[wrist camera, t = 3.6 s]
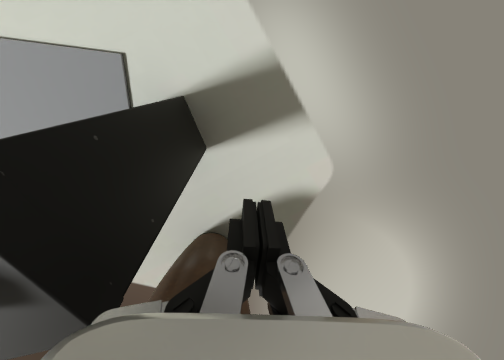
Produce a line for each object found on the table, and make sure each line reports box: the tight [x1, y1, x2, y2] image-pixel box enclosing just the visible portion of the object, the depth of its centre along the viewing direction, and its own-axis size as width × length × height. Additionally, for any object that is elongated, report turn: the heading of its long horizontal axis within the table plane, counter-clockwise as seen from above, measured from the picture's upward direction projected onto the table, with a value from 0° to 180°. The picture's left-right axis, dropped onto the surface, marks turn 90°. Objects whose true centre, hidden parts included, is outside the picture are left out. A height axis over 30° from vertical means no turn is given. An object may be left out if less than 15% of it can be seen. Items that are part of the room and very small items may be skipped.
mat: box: [0, 38, 130, 139], centre depth 27 cm, size 20×29×1 cm
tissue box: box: [0, 96, 206, 360], centre depth 16 cm, size 8×8×28 cm
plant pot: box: [148, 233, 250, 314], centre depth 32 cm, size 15×15×16 cm
